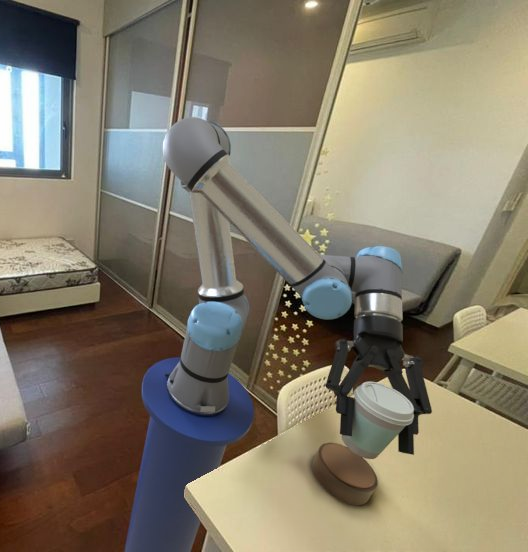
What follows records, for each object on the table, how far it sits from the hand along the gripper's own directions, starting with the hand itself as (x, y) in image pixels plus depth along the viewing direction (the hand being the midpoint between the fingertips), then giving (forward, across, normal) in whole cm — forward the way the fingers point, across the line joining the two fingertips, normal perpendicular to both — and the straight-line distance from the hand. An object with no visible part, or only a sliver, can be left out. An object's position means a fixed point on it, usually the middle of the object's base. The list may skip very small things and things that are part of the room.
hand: (375, 443), depth 55 cm
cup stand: (+7, 0, -12) cm, 14 cm away
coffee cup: (+1, 0, -5) cm, 5 cm away
